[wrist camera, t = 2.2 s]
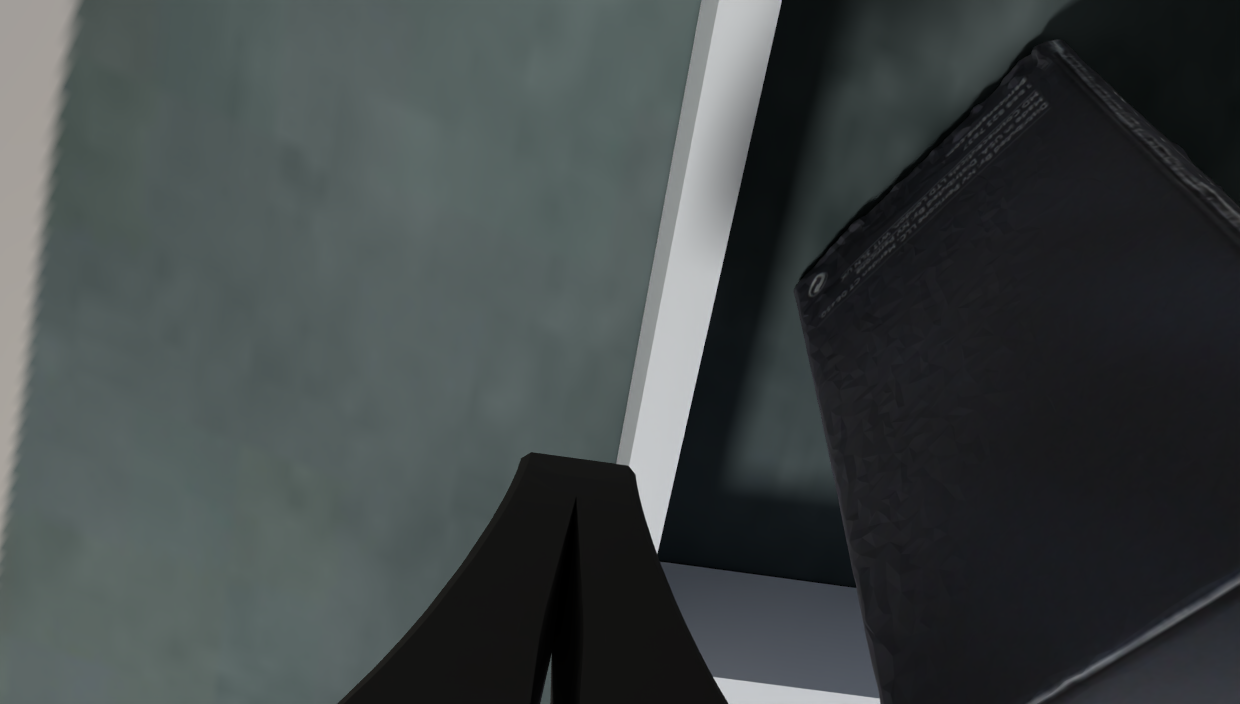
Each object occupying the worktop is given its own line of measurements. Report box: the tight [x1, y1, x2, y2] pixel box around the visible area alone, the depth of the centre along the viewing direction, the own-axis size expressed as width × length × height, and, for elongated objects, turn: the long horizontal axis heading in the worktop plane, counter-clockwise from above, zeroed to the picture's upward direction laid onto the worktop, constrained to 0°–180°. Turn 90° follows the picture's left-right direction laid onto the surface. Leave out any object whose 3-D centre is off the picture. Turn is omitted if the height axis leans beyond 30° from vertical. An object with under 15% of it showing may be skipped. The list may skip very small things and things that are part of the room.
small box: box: [794, 39, 1240, 704], centre depth 15 cm, size 11×6×10 cm, turn 52°
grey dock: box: [616, 0, 880, 704], centre depth 18 cm, size 16×16×3 cm
